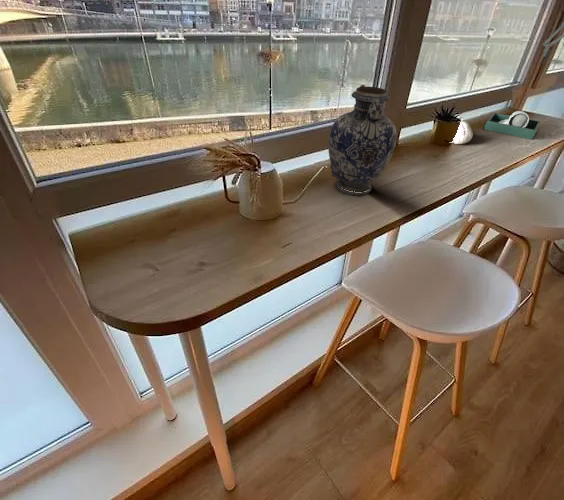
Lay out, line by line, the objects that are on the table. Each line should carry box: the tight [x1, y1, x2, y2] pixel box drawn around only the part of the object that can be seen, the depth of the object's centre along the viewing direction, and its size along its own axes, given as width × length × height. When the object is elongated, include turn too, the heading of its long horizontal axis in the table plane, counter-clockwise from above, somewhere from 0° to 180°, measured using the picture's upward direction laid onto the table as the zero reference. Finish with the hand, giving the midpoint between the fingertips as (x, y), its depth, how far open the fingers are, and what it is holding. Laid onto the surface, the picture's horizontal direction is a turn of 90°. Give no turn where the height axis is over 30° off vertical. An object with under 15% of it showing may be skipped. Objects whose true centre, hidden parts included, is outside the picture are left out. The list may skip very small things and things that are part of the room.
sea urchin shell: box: [450, 119, 474, 145], centre depth 135 cm, size 13×14×8 cm
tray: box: [483, 112, 541, 140], centre depth 150 cm, size 20×18×4 cm
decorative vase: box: [327, 84, 398, 196], centre depth 92 cm, size 21×19×28 cm
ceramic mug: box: [499, 110, 530, 128], centre depth 149 cm, size 11×8×8 cm
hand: (560, 67), depth 144 cm, fingers open, 13 cm apart
